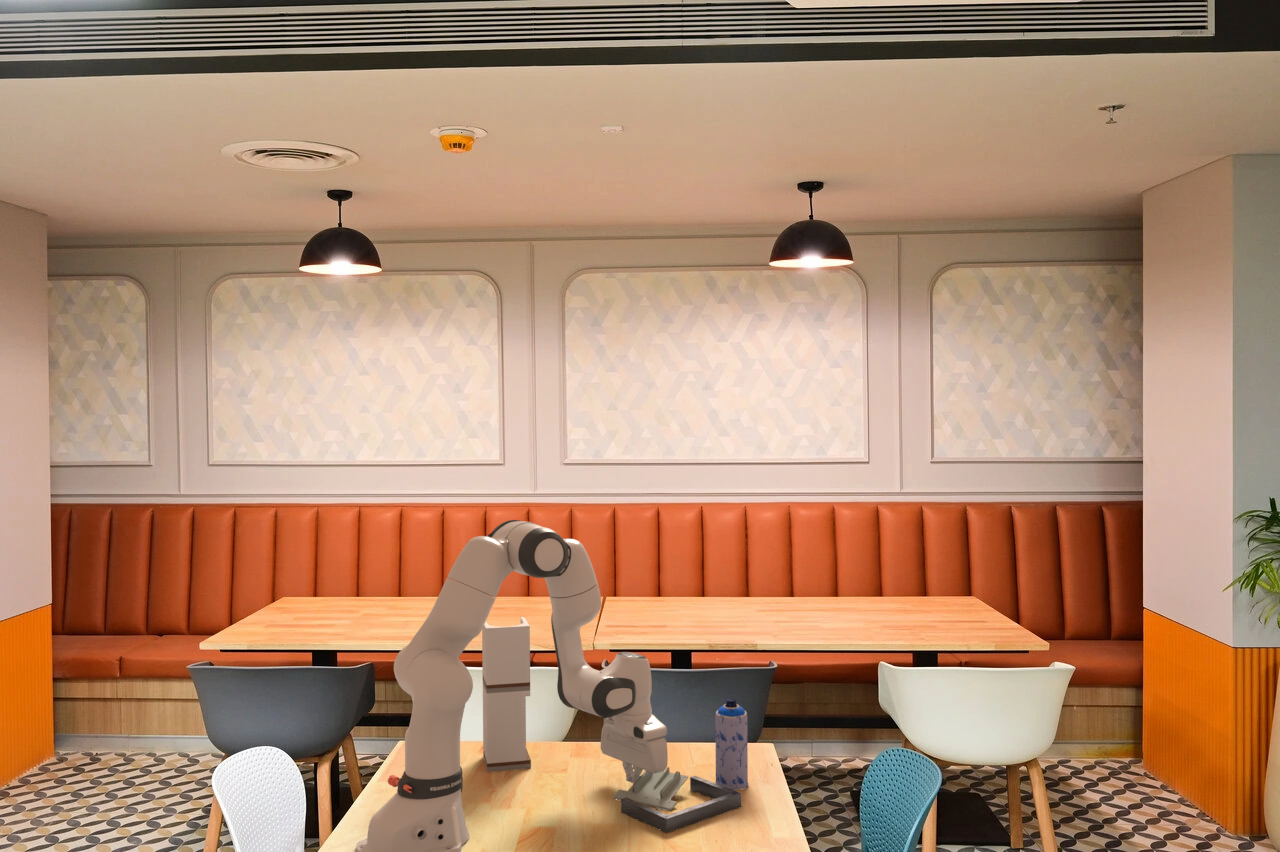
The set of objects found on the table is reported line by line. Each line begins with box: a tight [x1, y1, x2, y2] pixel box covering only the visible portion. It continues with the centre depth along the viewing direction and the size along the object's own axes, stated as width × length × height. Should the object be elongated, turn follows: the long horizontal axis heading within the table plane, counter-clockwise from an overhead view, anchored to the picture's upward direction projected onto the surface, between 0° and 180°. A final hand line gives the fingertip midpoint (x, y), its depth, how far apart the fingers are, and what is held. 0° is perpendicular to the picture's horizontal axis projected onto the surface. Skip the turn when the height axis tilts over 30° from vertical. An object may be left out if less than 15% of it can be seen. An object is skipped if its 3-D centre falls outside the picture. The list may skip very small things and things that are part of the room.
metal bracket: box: [613, 766, 689, 812], centre depth 237 cm, size 14×6×15 cm
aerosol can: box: [714, 698, 750, 791], centre depth 244 cm, size 8×8×20 cm
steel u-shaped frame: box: [620, 775, 743, 834], centre depth 229 cm, size 22×15×3 cm
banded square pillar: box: [481, 616, 532, 773], centre depth 261 cm, size 11×11×35 cm
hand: (633, 782), depth 242 cm, fingers closed
